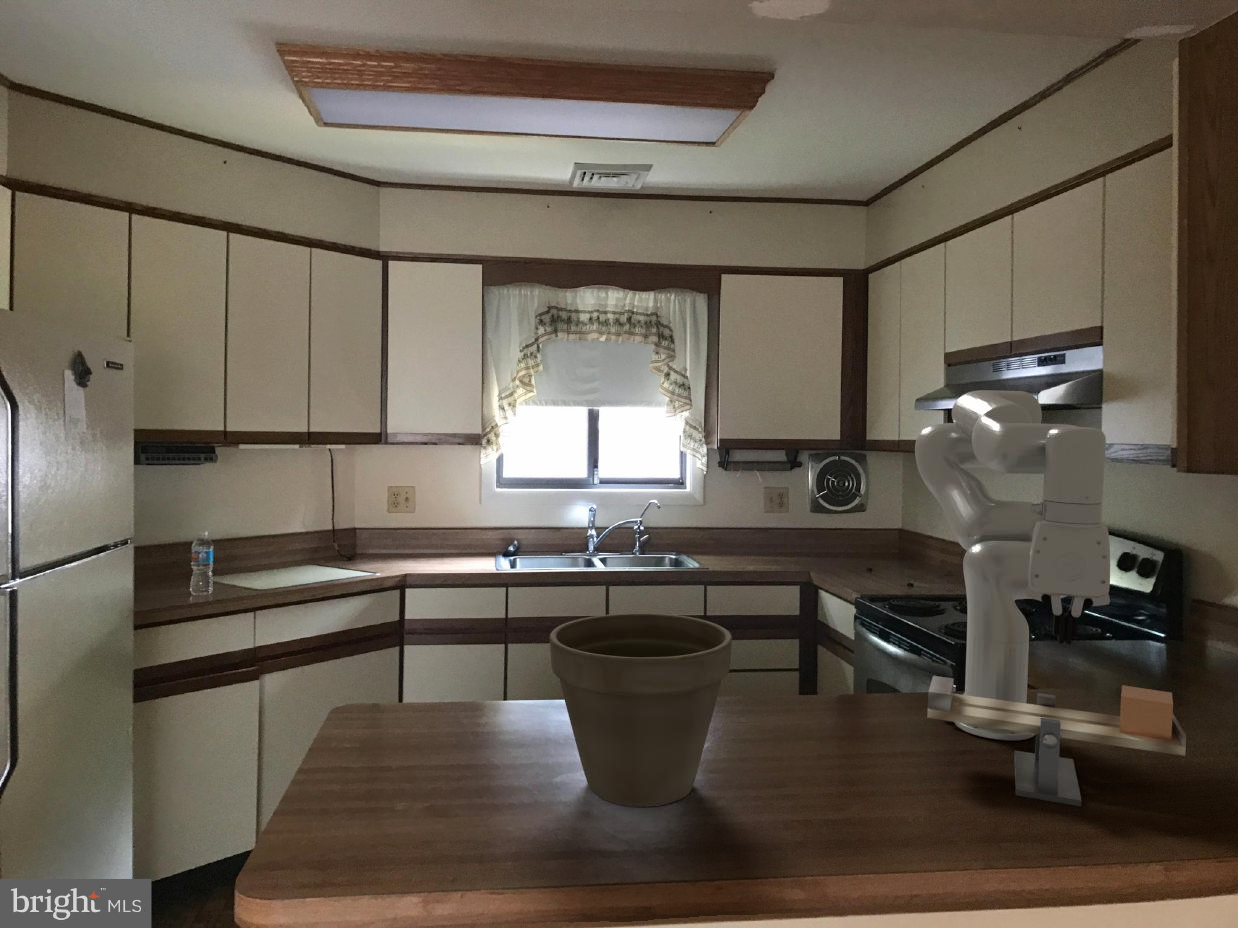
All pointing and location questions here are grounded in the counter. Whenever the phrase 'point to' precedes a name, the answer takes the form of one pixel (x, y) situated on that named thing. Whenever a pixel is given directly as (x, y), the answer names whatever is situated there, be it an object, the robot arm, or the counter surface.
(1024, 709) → the beam
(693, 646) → the plant pot
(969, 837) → the counter surface
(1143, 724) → the block
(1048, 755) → the pivot stand
